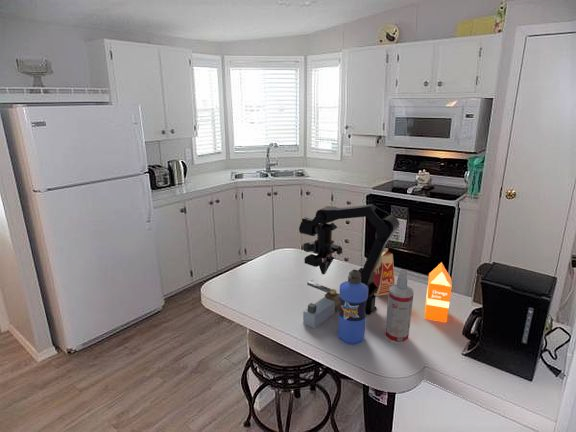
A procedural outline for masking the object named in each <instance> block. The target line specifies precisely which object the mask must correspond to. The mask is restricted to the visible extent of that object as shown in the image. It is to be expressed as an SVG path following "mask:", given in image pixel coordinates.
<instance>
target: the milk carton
mask: <svg viewBox="0 0 576 432" xmlns="http://www.w3.org/2000/svg"><path fill="white" fill-rule="evenodd" d="M394 267H395V265H394V254H393V252H390V251H389V248H387V247H385V248H384V251H383V253H382V255H381V257H380V259H379V261H378V264H377V266H376V268H375V270H374V279H373V282H374V283H375V285H376V286H377V287H378V290H377V292H376V293H375V294H374V295H375V296H376V297H378V296H384V295H385V296H386V295H389V287H390V286H392V285H396V281H395V278H396V277H395V268H394Z"/></svg>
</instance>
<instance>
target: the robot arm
mask: <svg viewBox="0 0 576 432" xmlns="http://www.w3.org/2000/svg"><path fill="white" fill-rule="evenodd" d="M364 217H365V218H366V219H367V220H368V221H369V222H370V223H371V225H372V226H373V227H374V228H376V230H375V240H374V242H373V245H372V246H371V249H370V251H369V253H368V256H367V258H366V260H365V263H364V265H363V267H360V268H359V269H357V270H358V271H359V272H360V273H361V275H360V276H361V282H362V283H364V284H365V285H367V286H368V299H367V302H366V306H365V313H366V316H367V315H369V316H370V315H371V314H372V313H373V312H375V310H377V309H378V308H377V306H376V297H377V296H376V295H375V293H376V292H377V290H378V287H377V286H376V285H375V283H374V282H373V279H374V270H375V268H376V266H377V264H378V261H379V259H380V257H381V255H382V253H383V251H384V248H386V246H387V243H388V242H389V240H390V239H391V238H392V237H393V236H394V234H395V233H396V231H397V230H398V228H399V226H400V221H399V219H398V218H397V217H396V216H394V215H391V214H390V213H389V212H387V211H385V210H383V209H381V208H379V207H378V206H376V205H375V204H373V203H370V204H369V203H368V204H366V205H365V204H364V205H356V206H348V207H336V206H324V207H322V208H320V209H318V210H316V213H315V215H314V217H313V218H309V217H302V219H301V222H300V224H299V228H298V230H299V233H300V234H301V235H307V236H310V237H315V236H316V235H317V237H316V240H314V241H311V242H304V243H303V246H302V249H303V251H304V252H306V253H309V252H313V254H312V253H310V254H309V255H307V256H305V257H304V259H303V261H304V262H303V263H304V264H306V265H309V266H311V267H315V268H317V267H319V269H320V272H321V273H320V274H322V275H326V273H327V271H328V269H329V268H330V266H331V264H332V263H333V261H334V260H335V257H334V256H332V254H334V253H335V252H336V255H338V256H339V255H342V254H343V248H342V246H341V245H337V244H335V242H334V240H332V239H333V231H335V230H337V229H338V226H337V225H336V224H335V223H334V221H337V220H343V219H345V220H346V219H351V218H352V219H355V218H364Z"/></svg>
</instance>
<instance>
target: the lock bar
mask: <svg viewBox="0 0 576 432" xmlns="http://www.w3.org/2000/svg"><path fill="white" fill-rule="evenodd" d="M306 283H307V284H306V285H307V286H308V287H309V286H310V287H312V288H315V289H317V290H320V291H322V292H324V293H326V294H327V293H329V294H330V295H331V296H336V293H337V289H335V288H329V287H326V286H324V285H321V284H318V283H317V282H314V281H311V280H308V281H307V282H306Z"/></svg>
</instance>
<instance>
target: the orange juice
mask: <svg viewBox="0 0 576 432" xmlns="http://www.w3.org/2000/svg"><path fill="white" fill-rule="evenodd" d="M427 281H428V283H427V288H426V297H425V304H424V305H425V306H424V319H425V320H430V321H436V322H441V323H447V321H448V314H449V309H450V303H451V302H450V301H451V294H452V289H453V287H452V278H451V276H450V274H449V273H448V271H447V269H446V268H445V265H444V264H443V262H442V261H441V262H440V263H438V265H437V266H436V267H435V268H433V270H431V271H430V272H429V273H428V280H427Z"/></svg>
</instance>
